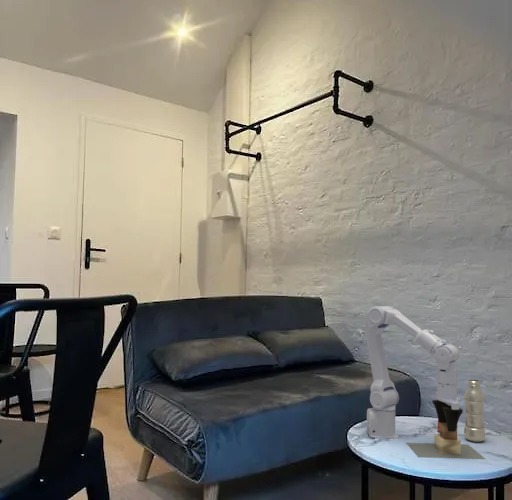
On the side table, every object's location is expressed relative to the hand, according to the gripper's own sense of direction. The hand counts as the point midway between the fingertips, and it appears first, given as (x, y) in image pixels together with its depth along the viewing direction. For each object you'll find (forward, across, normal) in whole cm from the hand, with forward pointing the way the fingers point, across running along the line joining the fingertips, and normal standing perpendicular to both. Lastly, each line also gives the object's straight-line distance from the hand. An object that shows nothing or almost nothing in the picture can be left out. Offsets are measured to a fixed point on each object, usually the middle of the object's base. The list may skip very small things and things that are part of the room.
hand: (447, 427), depth 151 cm
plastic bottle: (+8, +11, -13) cm, 19 cm away
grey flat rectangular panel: (+7, 0, +1) cm, 7 cm away
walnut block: (+3, 0, 0) cm, 3 cm away
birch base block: (+7, 0, 0) cm, 7 cm away
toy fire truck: (+8, +24, -8) cm, 26 cm away
